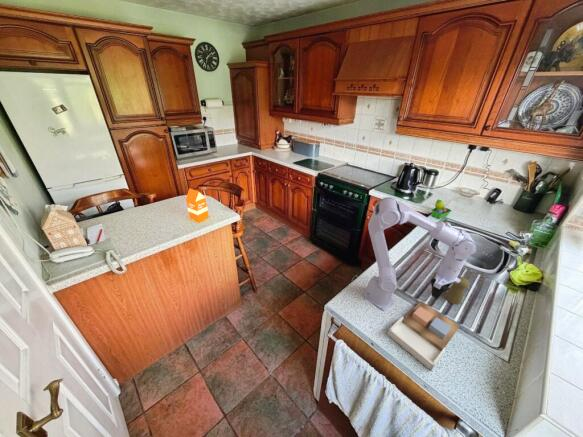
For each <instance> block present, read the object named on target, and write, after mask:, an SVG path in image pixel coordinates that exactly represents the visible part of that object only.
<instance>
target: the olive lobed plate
mask: <svg viewBox="0 0 583 437" xmlns="http://www.w3.org/2000/svg"><path fill="white" fill-rule="evenodd" d="M458 277H459V279H460V282H459V283H456V282H453V283H452V284H451V285H450V286H449V290H447V291H446V292H445V294H444V299H445V300H446V301H447V302H449V303H450V304H452V305H460V304H462V300H463V296H464V294H465V291H466V290H467V289H468V288H469V287H470V281H469V280H468V279H467V278H465V277H463V276H461V275H460V276H459V275H458Z"/></svg>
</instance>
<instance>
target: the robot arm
mask: <svg viewBox="0 0 583 437" xmlns="http://www.w3.org/2000/svg"><path fill="white" fill-rule="evenodd" d="M404 223H405V224H406V223H410V224H412V225H415V226H417V227H419V228H421V229H423V230H425V231H427V232H429V235H430V237H431V238H433V239H435V240H437V241H439V242H440V243H443V244H444V245H446V246H448V248H447V251H446V252H445V255H444V257H443V259H442V261H441V263H440V266H439V268H438V269H437V271H436V277H433V278H432V279H430V285H431V293H430V294H431V297H432V298H435V299H439V298H440V297H441V296H442V295H443V294H444V293H446V292H447V291H448V290H449V289H450V287H451V286H452V285H453V282H456V283H459V282H460V279H459V277H458V276H459V275H460V273H461V270H462V269H463V267H464V265H465V263H466V261H467V260H468V258H469V256H472V255H473V254H475V253H476V252H477V249H476V248H477V247H476V246H477V244H476V242H475V241H474V240H473V238H472V237H471V235H470V234H469V233H468V232H467V231H466V230H464V229H463V230H462V229H460V230H459V229H457V228H455V227H453V226H452V225H451V223H450V222H447V221H446V223H445V222H444V221H434V220H432V219H430V218H429V217H427V216H425V215H423V214H422V213H420V212H418V211H417V210H415V209H413V208H412V207H410V206H408V205H407V204H405V203H404V202H402V201H401V200H397V199H396V198H394V197H391V196H386V197H383V198H381V199H380V200H379V201H378V202H377V203H376V204H375V206H374V209H373V212H372V213H371V216H370V219H369V221H368V223H367V224H368V225H367V226H368V228H367V229H368V234H369V238H370V240H371V245H372V248H373V252H374V256H375V261H376V264H377V268H378V276H377V275H374V276H372V277H371V278H370V280H369V281H368V283H367V285H366V289H365V293H364V294H363V296H364V298H366V299H367V300H368V301H370V303H372V304H374V305H375V306H376V307H377V308H379V309H380V310H382V311H386V310H387V309H388V308H389V307H390V306H392V304H393V303H394V302H395V299H393V296H394V292H395V291H396V290H397V288H398V283H397V276H396V275H397V274H396V271H397V270H396V268H395V266H394V265H393V264H392V261H391V259H390V255H389V249H388V245H387V241H386V237H385V232H384V231H385V230H386V229H389V228H391V227H392V226H395V225H397V224H399V225H403V224H404Z"/></svg>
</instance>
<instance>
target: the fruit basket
mask: <svg viewBox="0 0 583 437" xmlns="http://www.w3.org/2000/svg"><path fill="white" fill-rule="evenodd" d="M445 206H446V205H445V203H444V201H443V200H441V199H437V200H436V201H435V204H434V207H435V208H432V209H431V217H433V218H435V219H437V218H438V219H437V220H441V219H443V217H444V218H446V217H448V216H449V214H450V213H451V212H452V209H450V208H448V207H445ZM445 216H446V217H445ZM440 218H441V219H440Z"/></svg>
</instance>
